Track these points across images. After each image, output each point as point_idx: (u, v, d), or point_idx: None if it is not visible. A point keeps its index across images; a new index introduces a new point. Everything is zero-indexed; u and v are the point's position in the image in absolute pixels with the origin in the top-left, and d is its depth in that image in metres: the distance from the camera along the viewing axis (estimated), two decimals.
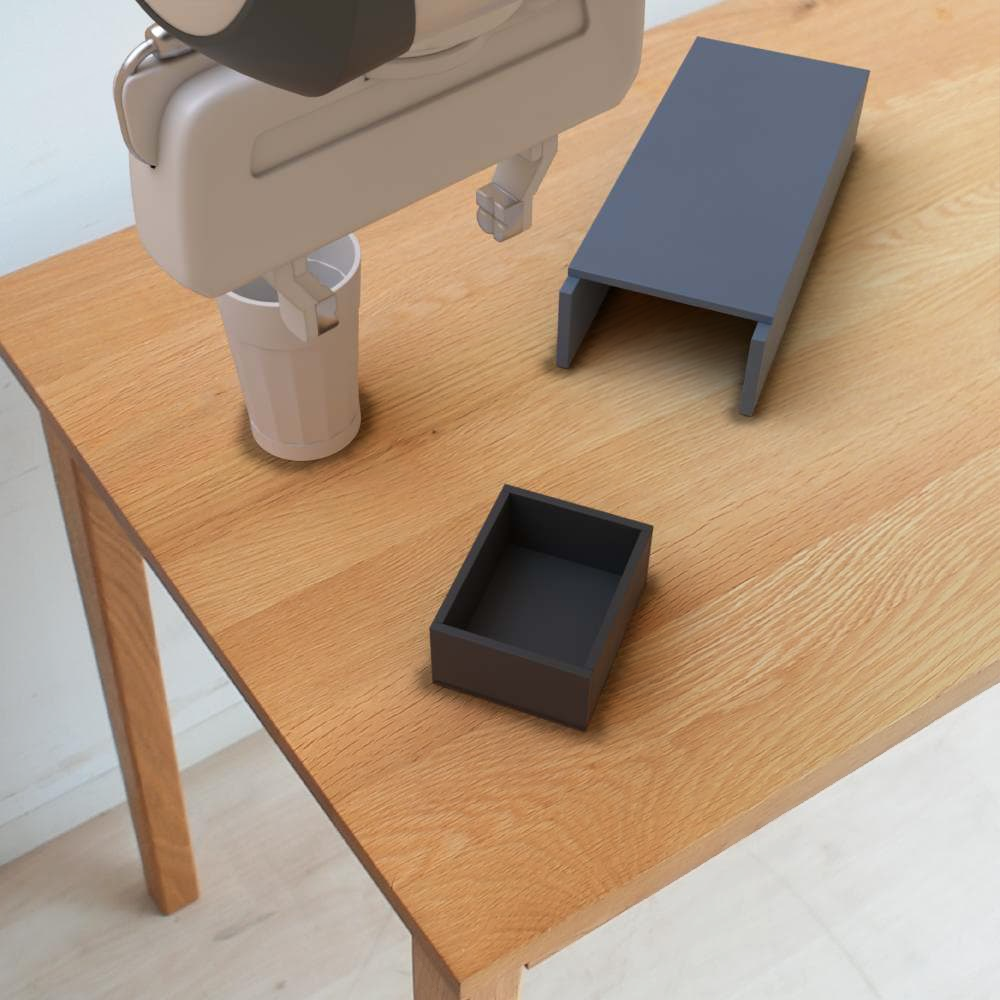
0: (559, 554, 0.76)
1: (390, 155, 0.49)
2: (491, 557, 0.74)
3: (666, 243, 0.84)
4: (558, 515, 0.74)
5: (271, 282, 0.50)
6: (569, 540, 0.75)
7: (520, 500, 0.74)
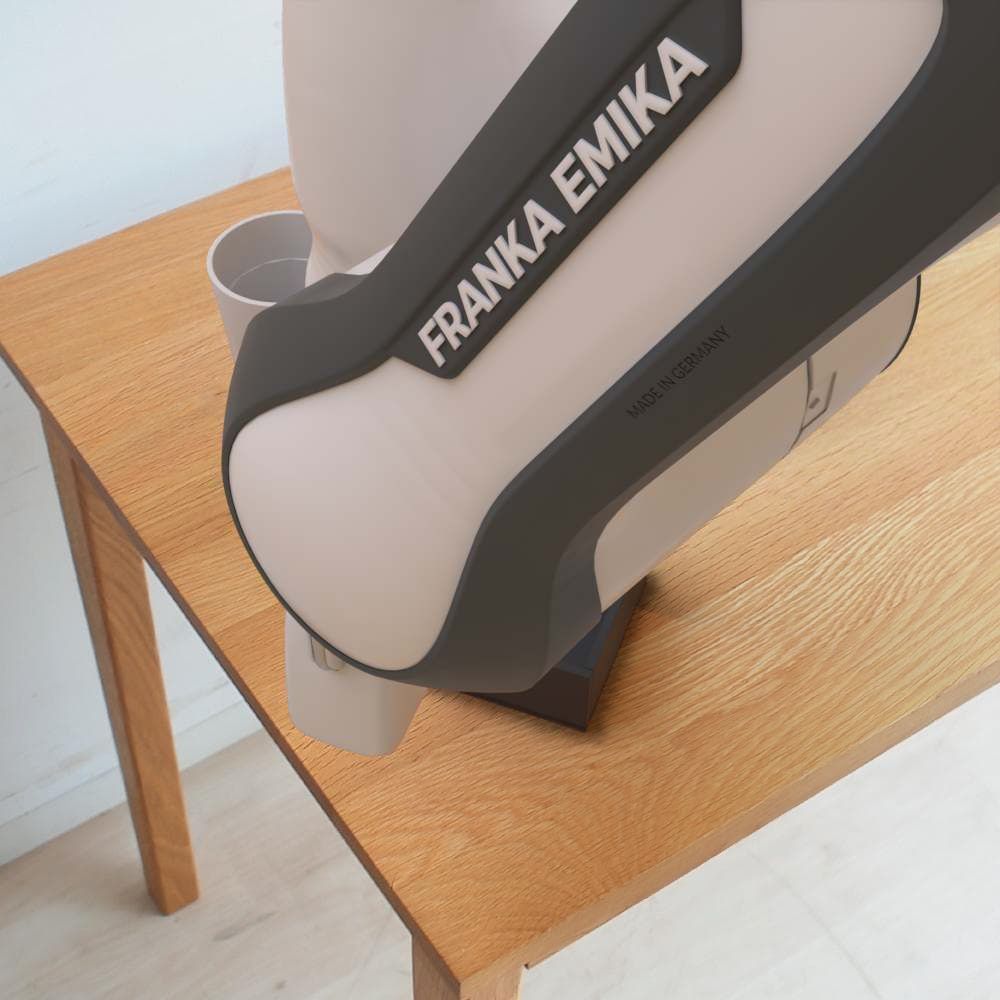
0: None
1: None
2: None
3: None
4: None
5: None
6: None
7: None
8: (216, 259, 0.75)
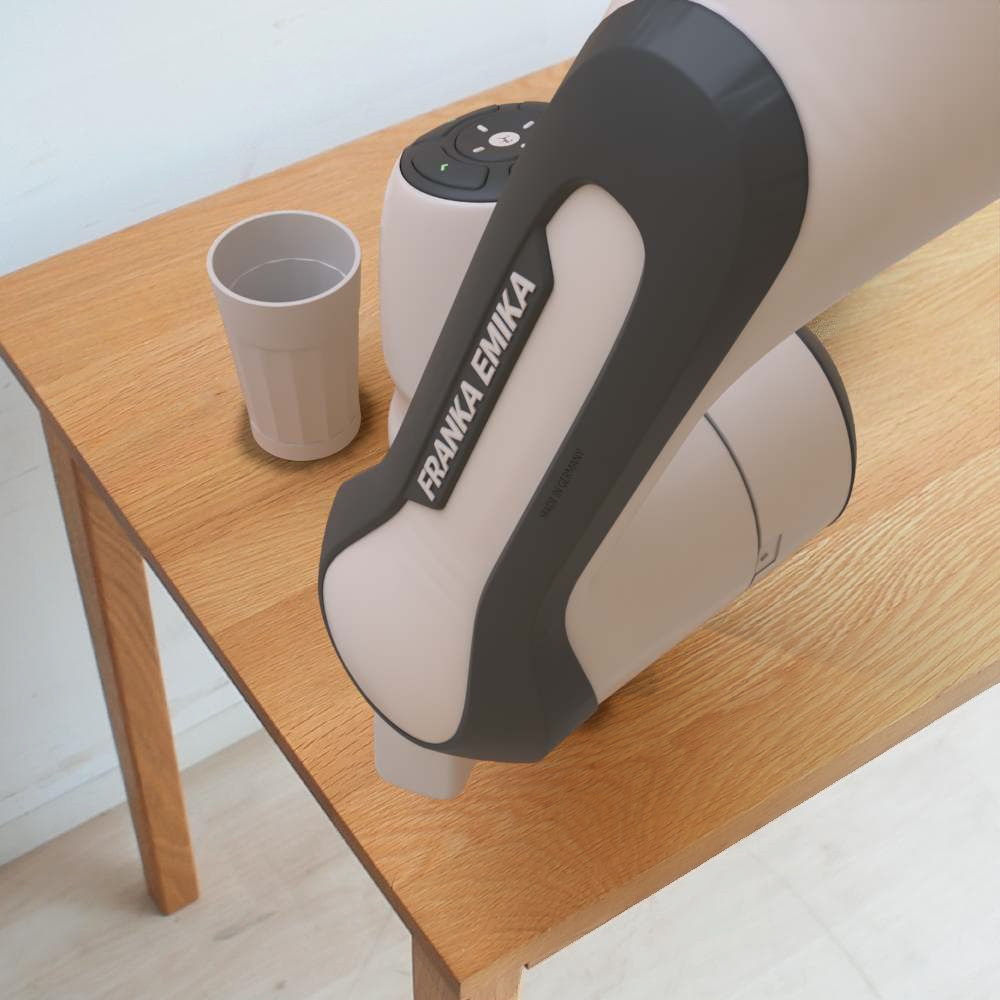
0: None
1: None
2: None
3: None
4: None
5: None
6: None
7: None
8: (216, 259, 0.75)
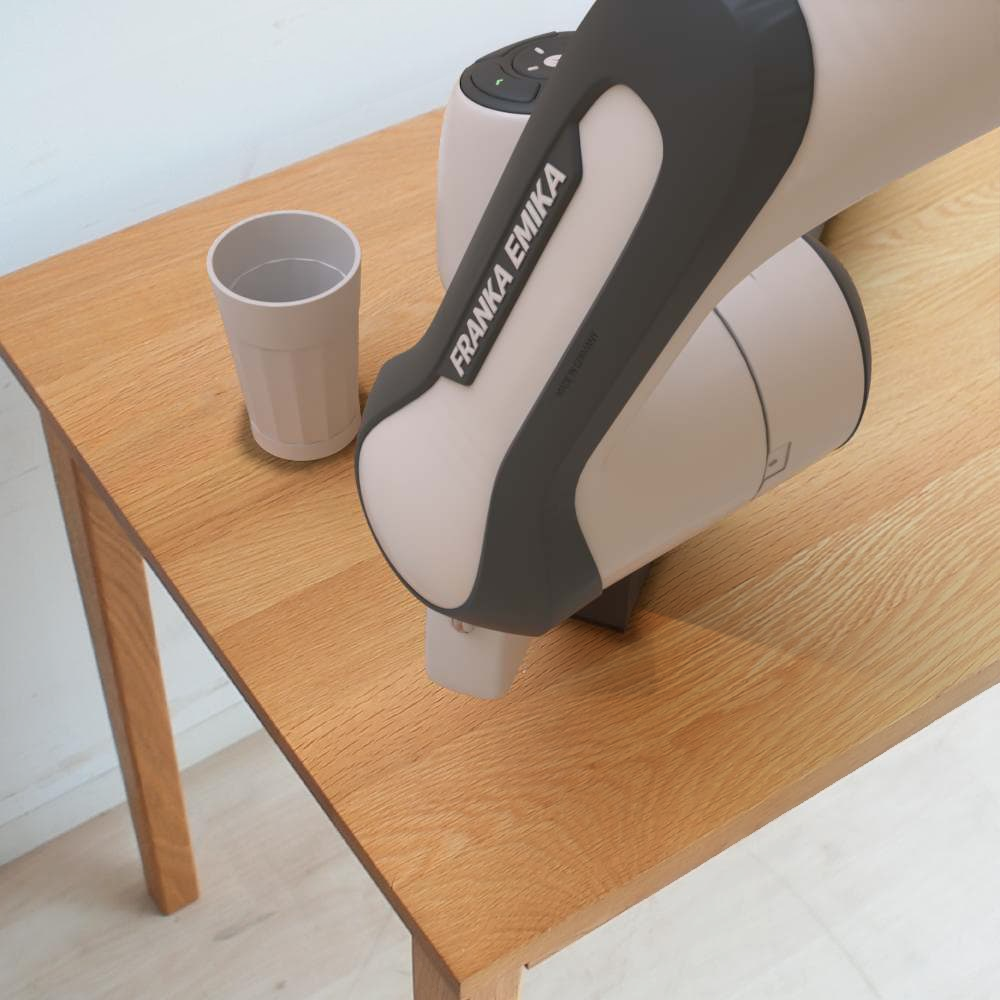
0: None
1: None
2: None
3: None
4: None
5: None
6: None
7: None
8: (216, 259, 0.75)
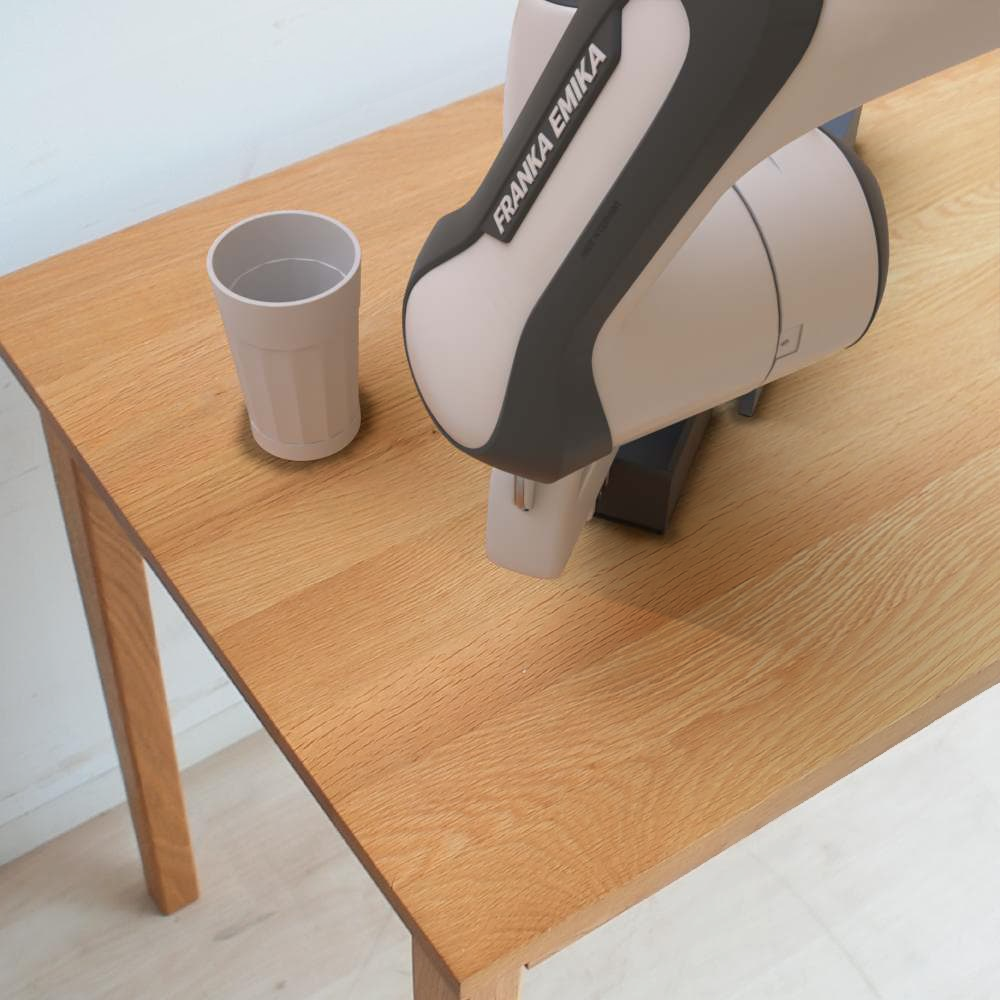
0: None
1: None
2: None
3: None
4: None
5: None
6: None
7: None
8: (216, 259, 0.75)
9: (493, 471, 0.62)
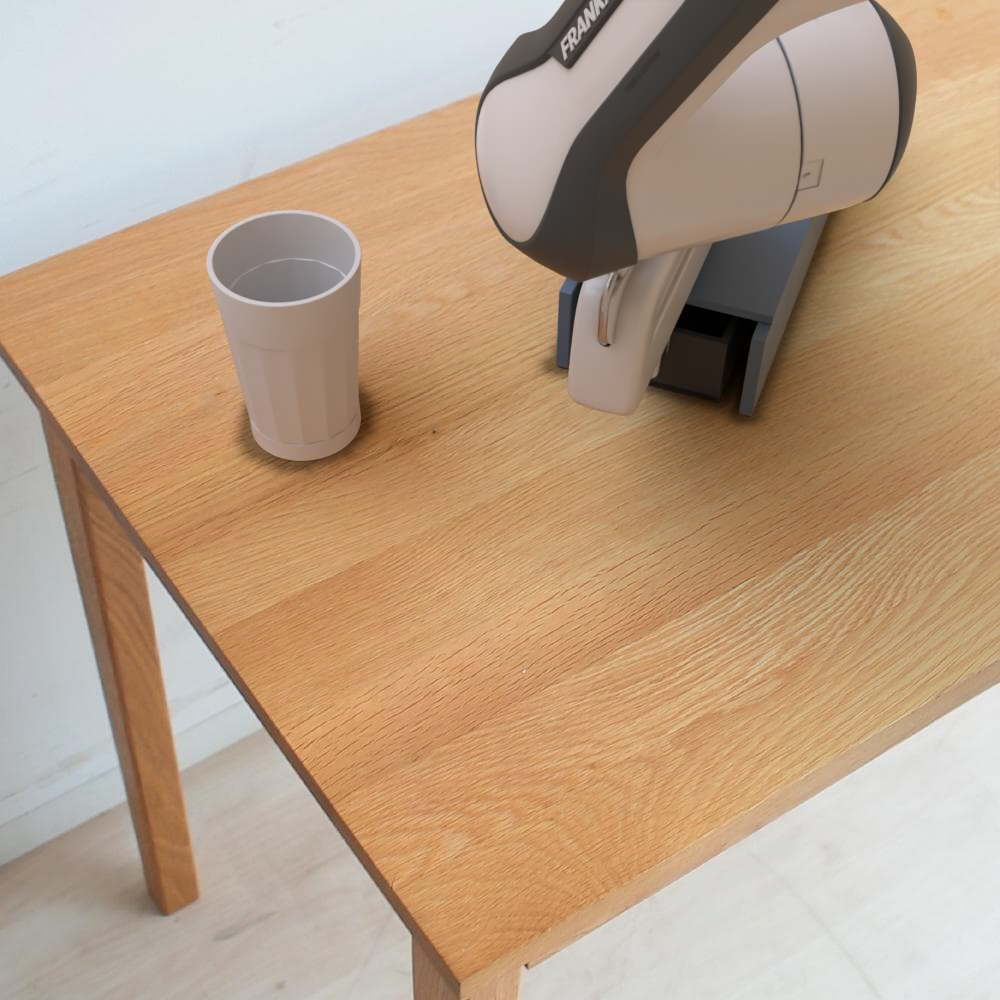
0: None
1: (681, 289, 0.76)
2: None
3: None
4: None
5: None
6: None
7: None
8: (216, 259, 0.75)
9: (578, 310, 0.69)
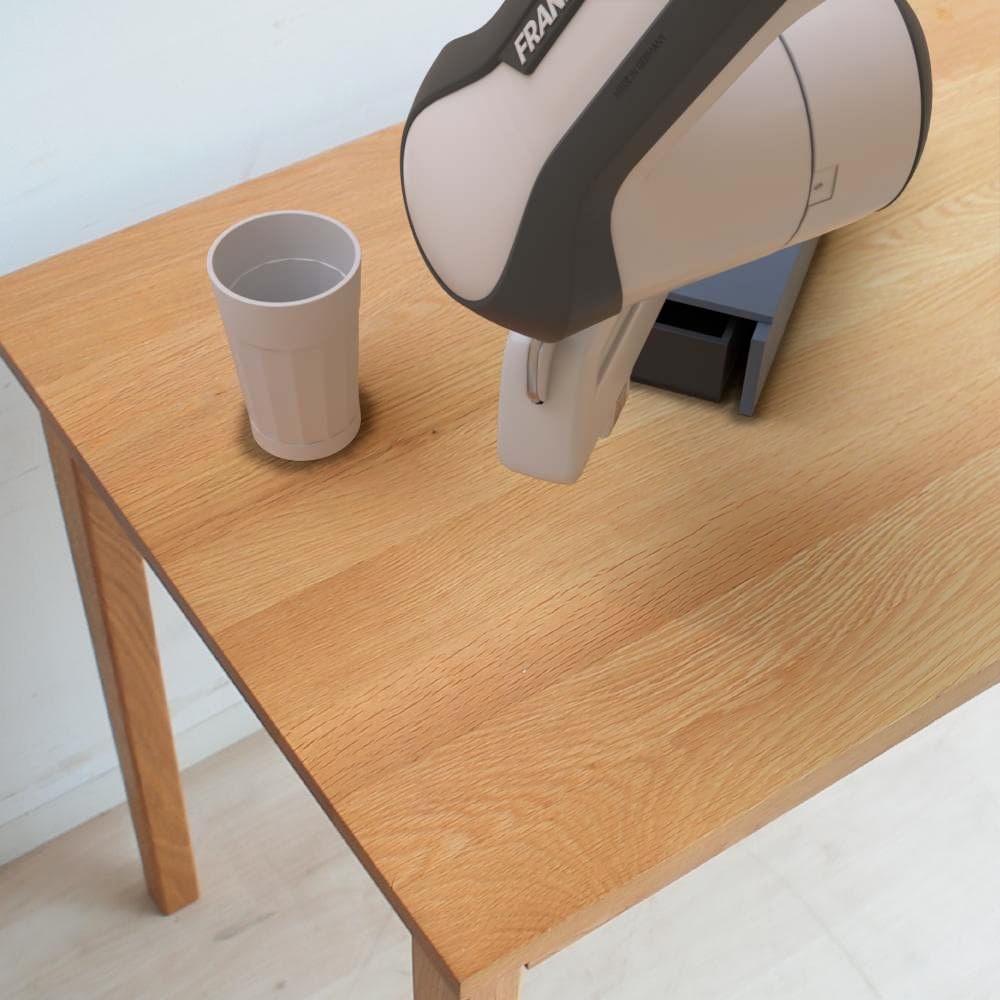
0: None
1: (634, 333, 0.64)
2: None
3: None
4: None
5: None
6: None
7: None
8: (216, 259, 0.75)
9: (504, 360, 0.58)
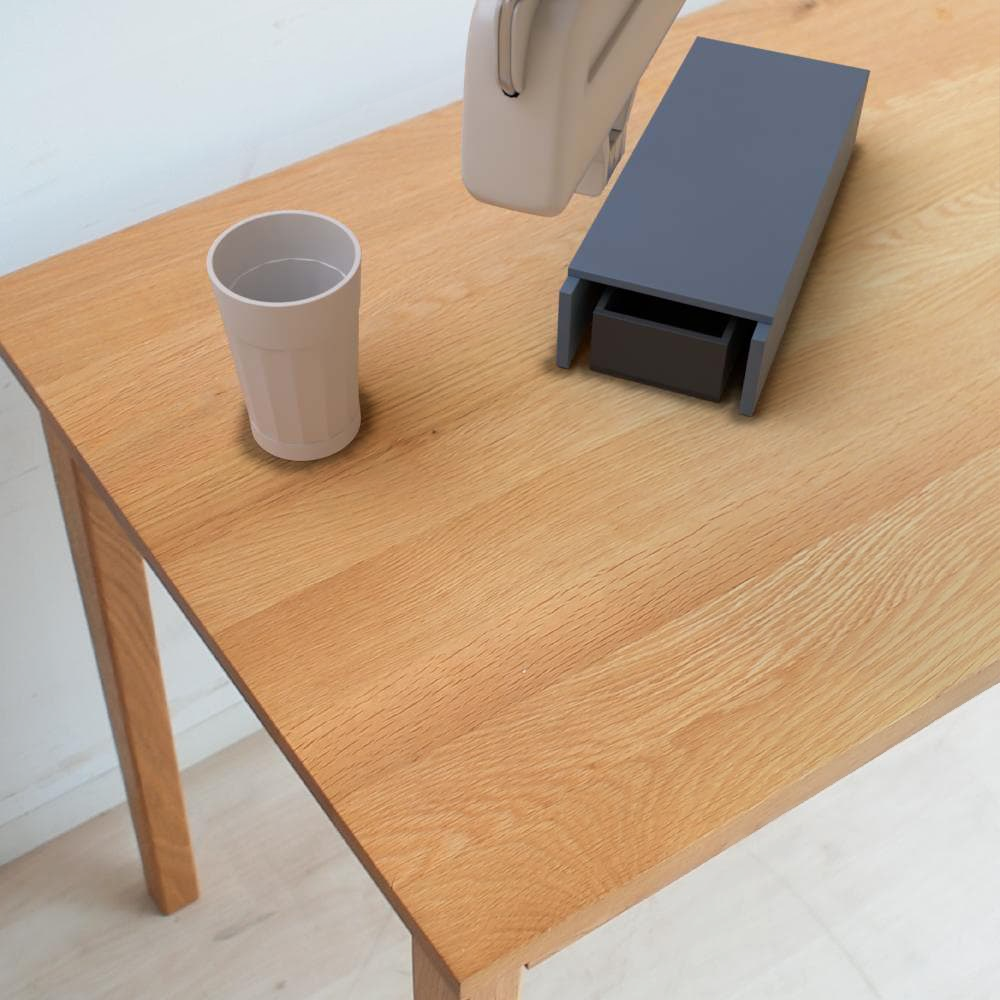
0: None
1: (633, 43, 0.52)
2: None
3: (666, 243, 0.84)
4: None
5: None
6: None
7: None
8: (216, 259, 0.75)
9: (469, 39, 0.46)
